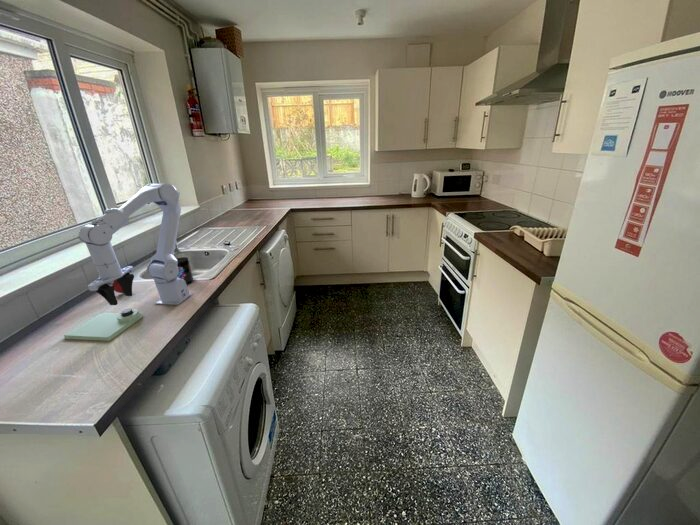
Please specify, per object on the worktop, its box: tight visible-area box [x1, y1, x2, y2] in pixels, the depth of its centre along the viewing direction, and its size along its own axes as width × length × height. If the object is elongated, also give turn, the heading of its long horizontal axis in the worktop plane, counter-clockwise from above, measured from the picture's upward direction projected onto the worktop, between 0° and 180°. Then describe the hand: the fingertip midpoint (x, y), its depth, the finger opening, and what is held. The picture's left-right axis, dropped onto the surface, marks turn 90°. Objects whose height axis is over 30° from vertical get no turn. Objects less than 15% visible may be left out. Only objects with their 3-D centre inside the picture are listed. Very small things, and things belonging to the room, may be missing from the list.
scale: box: [63, 308, 143, 342], centre depth 95 cm, size 16×13×3 cm
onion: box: [111, 280, 124, 294], centre depth 117 cm, size 6×6×8 cm
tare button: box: [120, 308, 133, 317], centre depth 97 cm, size 3×3×2 cm
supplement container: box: [176, 256, 195, 285], centre depth 124 cm, size 7×7×10 cm
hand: (121, 300), depth 95 cm, fingers open, 5 cm apart
